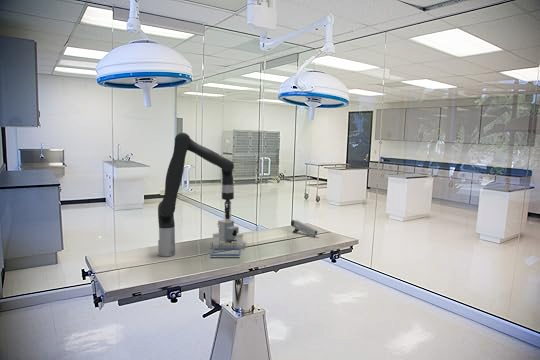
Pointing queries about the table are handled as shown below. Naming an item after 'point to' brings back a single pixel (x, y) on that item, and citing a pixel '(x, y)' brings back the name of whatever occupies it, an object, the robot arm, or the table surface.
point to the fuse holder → (228, 245)
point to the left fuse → (216, 240)
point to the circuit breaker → (227, 231)
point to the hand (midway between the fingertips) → (227, 218)
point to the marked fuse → (229, 217)
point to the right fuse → (239, 240)
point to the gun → (303, 228)
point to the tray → (225, 254)
